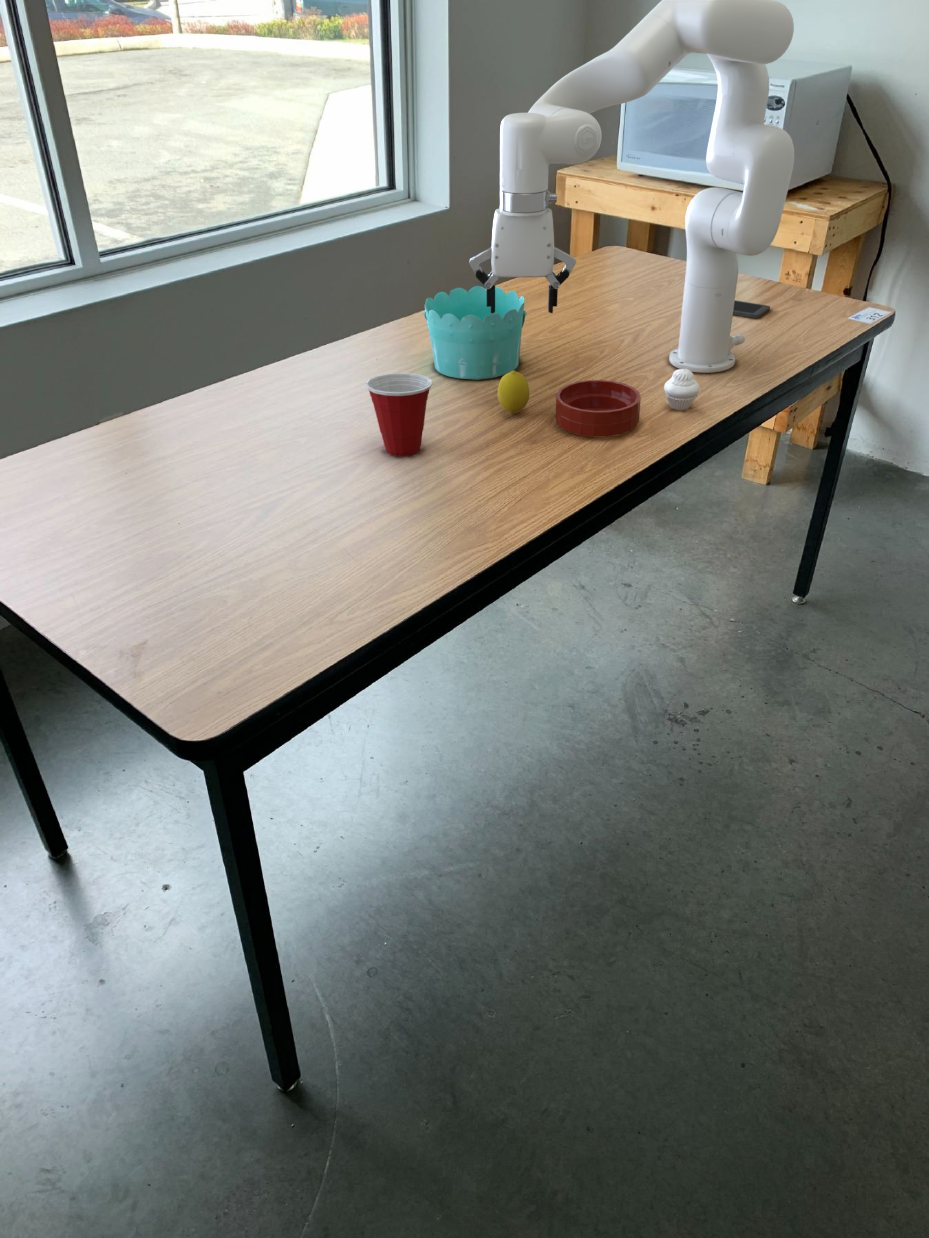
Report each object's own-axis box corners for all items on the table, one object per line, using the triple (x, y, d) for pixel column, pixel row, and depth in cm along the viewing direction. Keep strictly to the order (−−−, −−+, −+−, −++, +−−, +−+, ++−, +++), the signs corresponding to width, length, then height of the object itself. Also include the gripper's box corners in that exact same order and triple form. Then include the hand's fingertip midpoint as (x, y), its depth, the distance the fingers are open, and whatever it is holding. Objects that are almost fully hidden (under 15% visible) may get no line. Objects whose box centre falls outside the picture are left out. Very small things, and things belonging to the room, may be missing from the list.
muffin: (704, 405, 173) (708, 367, 169) (685, 416, 169) (689, 378, 165) (674, 397, 176) (678, 360, 172) (655, 407, 173) (658, 369, 169)
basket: (413, 375, 189) (409, 309, 181) (450, 344, 203) (447, 282, 195) (505, 386, 183) (505, 318, 175) (536, 354, 196) (537, 289, 189)
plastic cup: (445, 439, 164) (442, 371, 158) (422, 467, 156) (418, 396, 149) (386, 432, 168) (380, 365, 161) (360, 459, 159) (353, 389, 152)
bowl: (600, 400, 176) (601, 373, 173) (655, 425, 167) (657, 397, 164) (539, 420, 170) (539, 393, 167) (592, 447, 160) (594, 419, 157)
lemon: (526, 421, 170) (527, 377, 165) (495, 419, 171) (494, 376, 166) (531, 408, 174) (531, 365, 169) (500, 407, 175) (500, 364, 170)
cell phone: (758, 318, 210) (758, 315, 209) (698, 308, 216) (698, 305, 216) (770, 309, 214) (771, 306, 214) (711, 300, 221) (712, 296, 221)
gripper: (577, 196, 155) (572, 304, 165) (469, 197, 156) (470, 304, 166) (580, 206, 149) (574, 317, 159) (467, 207, 150) (469, 318, 160)
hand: (521, 310), depth 162 cm, fingers open, 9 cm apart
